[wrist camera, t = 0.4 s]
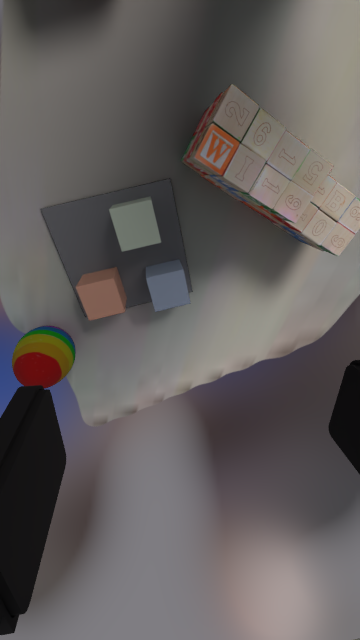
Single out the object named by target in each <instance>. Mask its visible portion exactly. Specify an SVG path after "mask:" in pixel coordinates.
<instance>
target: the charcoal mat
mask: <svg viewBox="0 0 360 640" xmlns="http://www.w3.org/2000/svg"><path fill="white" fill-rule="evenodd" d="M146 197H151V201H152V205H153V209H154V213H155V218H156V222H157V226H158V230H159V235H160V239H161V243H157V244H153V245H149V246H144V247H140V248H136V249H132V250H127V251H123V252H122V251H121V247H120V244H119V241H118V238H117V234H116V231H115V228H114V225H113V221H112V218H111V215H110V211H109V209H110V208H111V207H112V206H113V205H116V204H120V203H124V202H129V201H133V200H137V199H141V198H146ZM41 211H42V214H43V216H44V218H45V221H46V223H47V226H48V228H49V230H50V233H51V235H52V238H53V240H54V243H55V245H56V247H57V250H58V252H59V255H60V257H61V260H62V262H63V264H64V267H65V269H66V272H67V274H68V276H69V279H70V281H71V284H72V286H73V289H74V291H75V293H76V296H77V298H78V301H79V303H80V306H81V308H82V310H83V313H84V315H85V317H87V314H86V312H85V309H84V307H83V304H82V302H81V299H80V297H79V294H78V292H77V290H76V285H77V284H78V282H79V280H80V279H81V277H82V275H84V274H88V273H93V272H97V271H101V270H105V269H110V268H114V267H117V269H118V272H119V275H120V279H121V282H122V285H123V288H124V291H125V294H126V297H127V300H126V307H131V306H135V305H139V304H143V303H147V302H152V298H151V294H150V291H149V287H148V284H147V280H146V267H148V266H152V265H156V264H160V263H165V262H169V261H173V260H177V259H179V260H180V262H181V265H182V267H183V270H184V274H185V279H186V284H187V289H188V293H189V292H193V291H192V286H191V281H190V276H189V271H188V266H187V261H186V256H185V251H184V246H183V241H182V236H181V231H180V226H179V221H178V216H177V211H176V206H175V201H174V196H173V191H172V186H171V181H170V179H166V180H162V181H157V182H153V183H149V184H145V185H140V186H136V187H132V188H128V189H123V190H119V191H115V192H110V193H106V194H102V195H98V196H93V197H89V198H85V199H81V200H76V201H72V202H68V203H64V204H59V205H55V206H51V207H47V208H42V209H41Z"/></svg>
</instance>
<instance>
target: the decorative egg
mask: <svg viewBox="0 0 360 640" xmlns="http://www.w3.org/2000/svg"><path fill="white" fill-rule="evenodd" d="M74 360H75V345H74V342H73V340H72V338H71V337H70V336H69V335H68V333H66V332H65V331H64V330H62V329H60V328H57V327H54V326H42V327H38V328H35V329H33V330H31V331H29V332H28V333H26V334H25V336H23V337H22V338H21V340H20V341H19V342H18V344H17V346H16V348H15V350H14V353H13V358H12V367H13V371H14V374H15V376H16V378H17V380H18V381H19V382H20V383H21V384H23V385H24V386H35V385H42V386H43V387H44V388H48V387H50V386H53V385H55V384H56V383H58V382H59V381H61V380H62V379H63V378H64V377H65V376H66V375H67V374H68V372H69V371H70V369H71V367H72V365H73V363H74Z"/></svg>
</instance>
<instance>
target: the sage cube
mask: <svg viewBox="0 0 360 640" xmlns="http://www.w3.org/2000/svg"><path fill="white" fill-rule="evenodd" d="M109 211H110V215H111V218H112V221H113V225H114V228H115V231H116V234H117V238H118V241H119V244H120V247H121V251H122V252H123V251H127V250H132V249H136V248H140V247H144V246H149V245H153V244H157V243H161V239H160V235H159V230H158V226H157V222H156V218H155V213H154V209H153V205H152V201H151V197H146V198H141V199H137V200H133V201H129V202H124V203H120V204H116V205H113V206H112V207H111V208H110V209H109Z"/></svg>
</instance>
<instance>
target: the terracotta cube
mask: <svg viewBox="0 0 360 640" xmlns="http://www.w3.org/2000/svg"><path fill="white" fill-rule="evenodd" d="M76 290H77V292H78V294H79V297H80V299H81V302H82V304H83V307H84V309H85V312H86V314H87V317H88V319H89V321H90V320H94V319H99V318H103V317H107V316H111V315H115V314H120V313H124V312H125V308H126V300H127V297H126V294H125V291H124V288H123V285H122V282H121V279H120V275H119V272H118V269H117V267H114V268H110V269H105V270H101V271H97V272H93V273H88V274H84V275H82V277H81V279H80V280H79V282H78V284H77V285H76Z"/></svg>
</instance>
